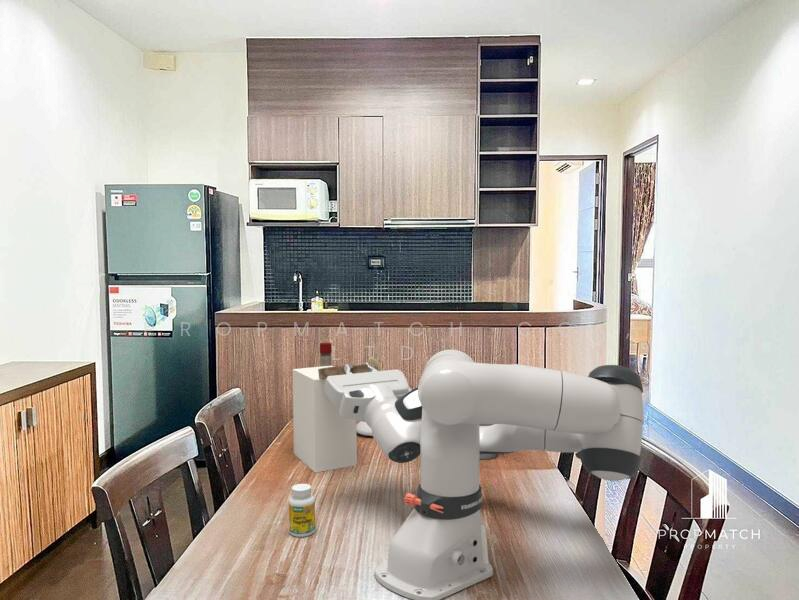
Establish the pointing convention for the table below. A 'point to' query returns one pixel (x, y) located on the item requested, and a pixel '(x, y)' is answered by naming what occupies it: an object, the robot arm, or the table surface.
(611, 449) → the robot arm
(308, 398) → the stand
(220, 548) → the table surface
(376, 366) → the flower in vase
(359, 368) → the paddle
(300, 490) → the supplement bottle
